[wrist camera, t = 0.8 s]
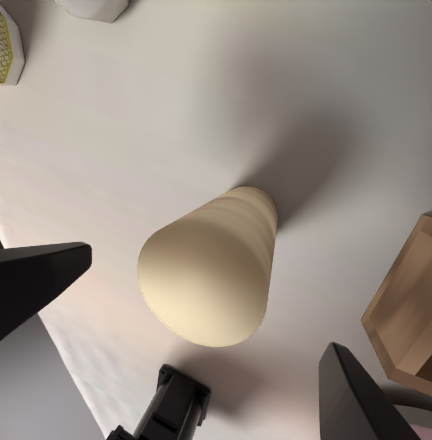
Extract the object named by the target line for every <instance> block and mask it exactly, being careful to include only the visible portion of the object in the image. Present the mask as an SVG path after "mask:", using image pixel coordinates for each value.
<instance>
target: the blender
mask: <svg viewBox="0 0 432 440" xmlns="http://www.w3.org/2000/svg"><path fill="white" fill-rule="evenodd" d="M394 406H395V407H396V409H397V410H398V411H399V412H400V414H401V415H402V416H403V417H404V419H405V420H406V421H407V422H408V424H409V425H410V426H411V427H412V429H413V430H414V431H415V432H416V433H417V435H418V436H419V437H420V438H421V440H432V412H431V411H428V410H424V409H419V408H415V407H409V406H402V405H394Z"/></svg>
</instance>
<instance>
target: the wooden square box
mask: <svg viewBox="0 0 432 440" xmlns="http://www.w3.org/2000/svg"><path fill="white" fill-rule="evenodd" d="M361 322H362V324H363V326H364V328H365V330H366V332H367V334H368V337H369V339H370V341H371V343H372V345H373V347H374V349H375V352H376V354H377V356H378V358H379V360H380V362H381V365H382V367H383V369H384V371H385V373H386V375H387V377H388V379H390V380H393V381H395V382H397V383H400V384H402V385H405V386H407V387H410V388H412V389H414V390H417V391H419V392H422V393H424V394H426V395H429V396H431V397H432V217H431V216H426V215H422V216H421V217H420V219H419V221H418V223H417V224H416V226H415V228H414V230H413V231H412V233H411V235H410V236H409V238H408V240H407V242H406V243H405V245H404V247H403V248H402V250H401V252H400V254H399V255H398V257H397V259H396V261H395V262H394V264H393V266H392V267H391V269H390V271H389V273H388V274H387V276H386V278H385V280H384V281H383V283H382V285H381V286H380V288H379V290H378V292H377V293H376V295H375V297H374V298H373V300H372V302H371V304H370V305H369V307H368V309H367V311H366V312H365V314H364V316H363V317H362V319H361Z"/></svg>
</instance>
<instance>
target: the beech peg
mask: <svg viewBox="0 0 432 440" xmlns="http://www.w3.org/2000/svg"><path fill="white" fill-rule="evenodd" d="M277 224H278V212H277V208H276V205H275V203H274V202H273V200H272V199H271V198H270V196H269V195H268V194H266V193H265V192H264V191H262V190H260V189H258V188H255V187H250V186H241V187H237V188H234V189H232V190H230V191H228V192H226V193H225V194H223V195H221V196H219V197H218V198H216V199H214V200H212V201H210V202H209V203H207V204H205V205H203V206H201V207H200V208H198V209H196V210H194V211H192V212H191V213H189V214H187V215H185V216H183V217H182V218H180V219H178V220H176V221H174V222H173V223H171V224H169V225H167V226H165V227H164V228H162V229H160V230H158V231H157V232H155V233H154V234H153V235H152V236H151V237H150V238H149V239H148V240H147V241H146V243H145V244H144V246H143V248H142V250H141V252H140V255H139V258H138V265H137V275H138V282H139V286H140V290H141V292H142V295H143V297H144V299H145V302H146V303H147V305H148V307H149V308H150V310H151V311H152V312H153V314H154V315H155V316H156V317H157V318H158V320H159V321H160V322H161V323H162V324H164V325H165V326H166V327H167V328H168V329H169V330H171V331H172V332H174V333H175V334H177V335H178V336H180V337H182V338H184V339H186V340H188V341H190V342H193V343H196V344H199V345H204V346H209V347H225V346H231V345H235V344H238V343H240V342H242V341H244V340H246V339H247V338H249V337H250V336H251V335H252V334H253V333H254V332H255V331H256V330H257V329H258V328H259V326H260V325H261V323H262V321H263V318H264V316H265V312H266V307H267V300H268V292H269V284H270V277H271V269H272V262H273V254H274V247H275V239H276V231H277Z"/></svg>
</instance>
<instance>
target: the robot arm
mask: <svg viewBox="0 0 432 440" xmlns="http://www.w3.org/2000/svg"><path fill="white" fill-rule="evenodd" d="M91 264H92V248H91V246H90V245H89V244H86V243H84V242H72V243H61V244H50V245H40V246H29V247H19V248H8V249H0V341H1V340H3V339H4V338H5V337H7V336H8V335H9V334H10V333H12V332H13V331H14V330H16V329H17V328H18V327H19V326H21V325H22V324H23V323H25V322H26V321H27V320H28V319H30V318H31V317H32V316H34V315H35V314H36V313H38V312H39V311H40V310H42V309H43V308H44V307H45V306H47V305H48V304H49V303H51V302H52V301H53V300H54V299H56V298H57V297H58V296H59V295H60V294H61V293H62V292H64V291H65V290H66V289H67V288H68V287H69V286H70V285H71V284H72V283H74V282H75V281H76V280H77V279H78V278H79V277H80V276H81V275H82V274H84V273H85V272H86V271H87V270H88V269H89V268H90V266H91ZM210 394H211V392H210V390H209V389H208V388H206V387H204V386H202V385H200V384H198V383H196V382H194V381H192V380H190V379H188V378H186V377H185V376H183V375H181V374H179V373H177V372H175V371H173V370H171V369H169V368H167V367H165V366H162V367H161V369H160V370H159V377H158V384H157V390H156V394H155V396H154V397H153V399H152V401H151V403H150V405H149V406H148V408H147V410H146V412H145V414H144V415H143V417H142V419H141V421H140V423H139V424H138V426H137V428H136V430H135V431H134V433H133V435H131V434H130V433H128V432H127V431H125V430H124V428H123V427H122V426H121V425H119V426H118V427H117V428H116V430H115V431H111V433H110V434H109V436H108V438H107V439H106V440H192V438H193V436H194V433H195V430H196V427H197V426H201V424H202V421H203V418H204V414H205V411H206V408H207V404H208V401H209V397H210ZM319 419H320V437H321V440H421V438H420V437H419V436H418V435H417V433H416V432H415V431H414V430H413V429H412V427H411V426H410V425H409V424H408V422H407V421H406V420H405V419H404V417H403V416H402V415H401V414H400V412H399V411H398V410H397V409H396V407H395V406H394V405H393V404H392V402H391V401H390V400H389V399H388V398H387V396H386V395H385V394H384V393H383V391H382V390H381V389H380V388H379V386H378V385H377V384H376V383H375V381H374V380H373V379H372V378H371V376H370V375H369V374H368V373H367V371H366V370H365V369H364V368H363V367H362V365H361V364H360V363H359V362H358V360H357V359H356V358H355V357H354V355H353V354H352V353H351V352H350V350H349V349H348V348H347V347H345V346H342V345H340V344H337V343H335V342H331V343H329V345H328V347H327V348H326V350H325V352H324V354H323V356H322V358H321V360H320V363H319Z"/></svg>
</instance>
